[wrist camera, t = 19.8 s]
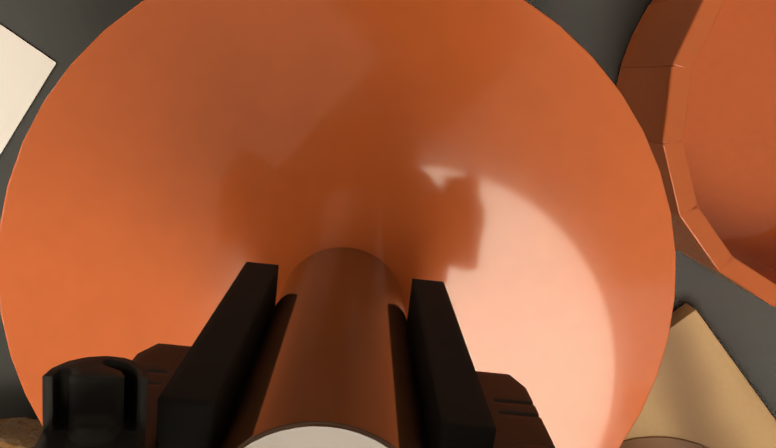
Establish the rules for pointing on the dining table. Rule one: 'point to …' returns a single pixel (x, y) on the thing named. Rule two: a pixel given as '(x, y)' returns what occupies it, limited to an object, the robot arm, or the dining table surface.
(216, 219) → the pot lid
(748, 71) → the pot
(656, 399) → the plate
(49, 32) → the dining table surface
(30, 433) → the stone cup
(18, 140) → the dining table surface
